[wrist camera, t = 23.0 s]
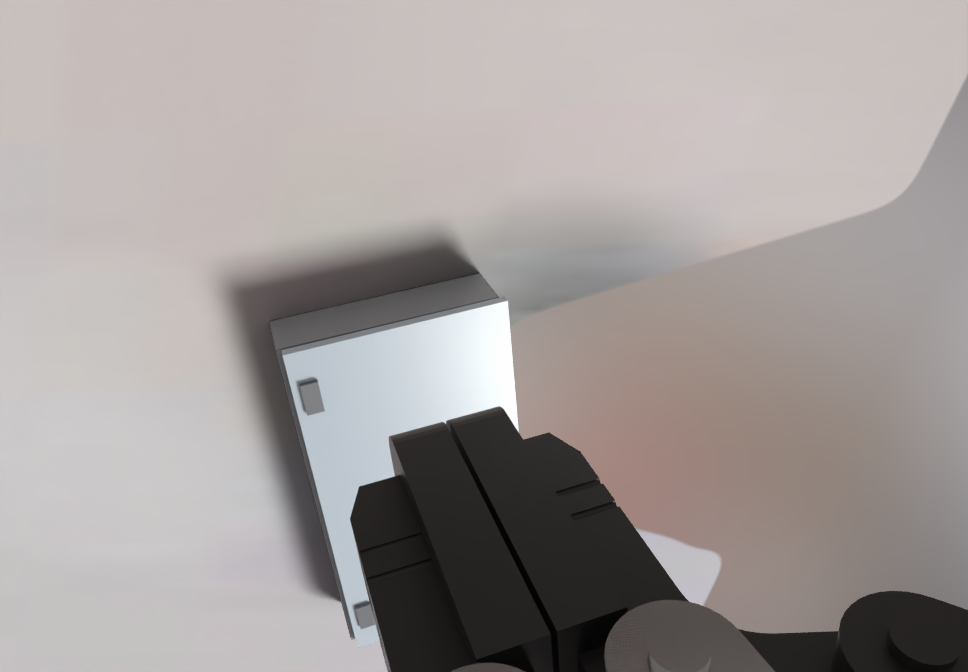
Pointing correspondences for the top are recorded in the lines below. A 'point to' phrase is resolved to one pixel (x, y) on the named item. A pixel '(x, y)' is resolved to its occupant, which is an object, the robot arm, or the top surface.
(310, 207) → the top surface
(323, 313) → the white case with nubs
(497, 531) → the robot arm
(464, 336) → the cover
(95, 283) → the top surface
